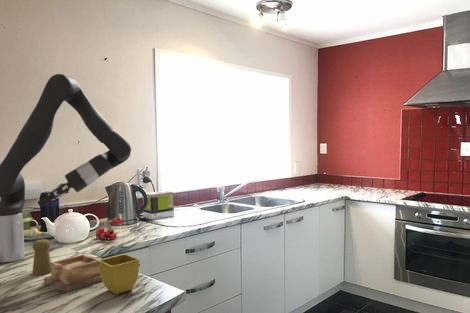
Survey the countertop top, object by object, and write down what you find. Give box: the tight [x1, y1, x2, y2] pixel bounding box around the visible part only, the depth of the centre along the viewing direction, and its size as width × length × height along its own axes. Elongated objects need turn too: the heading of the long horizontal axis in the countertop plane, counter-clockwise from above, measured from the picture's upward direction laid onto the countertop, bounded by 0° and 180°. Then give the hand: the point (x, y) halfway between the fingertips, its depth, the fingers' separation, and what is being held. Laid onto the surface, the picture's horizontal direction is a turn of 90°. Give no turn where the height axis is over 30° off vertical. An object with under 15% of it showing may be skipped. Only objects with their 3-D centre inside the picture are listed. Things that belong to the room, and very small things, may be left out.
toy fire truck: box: [95, 217, 123, 241], centre depth 167 cm, size 3×14×10 cm, turn 65°
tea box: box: [142, 190, 175, 220], centre depth 217 cm, size 15×10×15 cm
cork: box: [32, 238, 52, 277], centre depth 124 cm, size 6×6×11 cm
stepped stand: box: [43, 254, 103, 294], centre depth 116 cm, size 14×14×6 cm
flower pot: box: [98, 253, 140, 295], centre depth 107 cm, size 9×9×9 cm
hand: (40, 204), depth 127 cm, fingers open, 8 cm apart
